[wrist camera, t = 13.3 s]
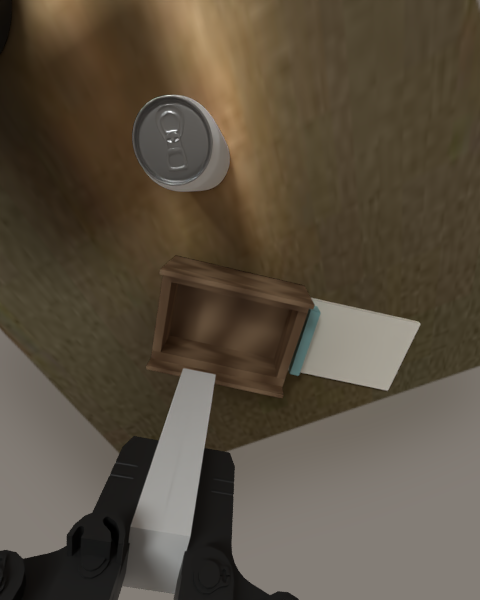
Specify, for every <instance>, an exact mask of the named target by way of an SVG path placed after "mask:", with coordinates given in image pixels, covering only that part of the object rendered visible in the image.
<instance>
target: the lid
mask: <svg viewBox="0 0 480 600" xmlns="http://www.w3.org/2000/svg"><path fill="white" fill-rule="evenodd" d="M311 299H312V301H313V303H314V304H315V306H314V309H309V310H308V313H307V316H306V319H305V322H304V325H303V328H302V331H301V334H300V337H299V340H298V342H297V345H296V348H295V351H294V354H293V357H292V360H291V363H290V366H289V369H288V370H289V373H290V374H292V375H297V376H299V374H300V372H301V373H306V374H310V375H315V376H320V377H325V378H329V379H334V380H339V381H344V382H349V383H353V384H358V385H363V386H368V387H372V388H377V389H382V390H387V391H388V389H389V387H390V385H391V383H392V381H393V379H394V377H395V375H396V373H397V371H398V369H399V367H400V365H401V363H402V361H403V359H404V357H405V355H406V353H407V351H408V349H409V347H410V345H411V343H412V341H413V338H414V336H415V334H416V332H417V330H418V328H419V326H420V323H419V322H418V321H414V320H409V319H405V318H400V317H396V316H391V315H387V314H382V313H378V312H373V311H369V310H364V309H360V308H355V307H351V306H346V305H342V304H337V303H333V302H328V301H324V300H319V299H315V298H311Z"/></svg>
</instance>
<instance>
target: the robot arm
mask: <svg viewBox="0 0 480 600" xmlns="http://www.w3.org/2000/svg"><path fill="white" fill-rule="evenodd" d="M11 13H12V0H0V53H1V51H2V49H3V47H4V45H5V42H6V40H7V37H8V33H9V29H10V23H11ZM215 377H216V375H215V374H210V373H205V372H200V371H195V370H190V369H185V368H183V370H182V373H181V376H180V379H179V382H178V385H177V388H176V391H175V394H174V397H173V400H172V403H171V406H170V409H169V412H168V415H167V418H166V421H165V424H164V427H163V430H162V433H161V436H160V439H159V441H158V440H153V439H147V438H142V437H137V436H134V437H132V438H131V439H130V440H129V441H128V442H127V443H126V444H125V445H124V446H123V447H122V450H121V452H120V454H119V456H118V458H117V461H116V463H115V465H114V467H113V469H112V471H111V474H110V476H109V478H108V480H107V482H106V484H105V487H104V489H103V491H102V493H101V495H100V497H99V500H98V502H97V504H96V506H95V508H94V510H93V513H91V514H88V515H86V516H84V517H83V518H82V519H81V520H79V521H78V522H77V523H76V524H75V525H74V526H73V527H72V529H71V530H70V532H69V533H68V534H67V546H65V547H64V548H62V549H60V550H58V551H55V552H52V553H48V554H43V555H39V556H34V557H30V558H25V559H22V558H21V557H20V556H19V555H18V554H17V553H16V552H12V551H8V550H3V551H0V600H118V597H119V594H120V591H121V587H122V586H126V587H133V588H139V589H146V590H153V591H159V592H166V593H172V594H175V595H174V600H299V599H298V598H296V597H295V596H293V595H291V594H290V593H288V592H276V593H274V594H272V595H269V594H267V593H265V592H264V591H262V590H261V589H259V588H257V587H256V586H254V585H253V584H251V583H250V582H248V581H247V580H246V579H245V578H244V577H243V576H242V575H241V573H240V572H239V571H238V569H237V567H236V565H235V563H234V559H233V556H232V547H231V539H232V517H233V494H234V493H233V492H234V470H235V466H234V463H233V461H232V458H231V455H230V453H228V452H223V451H218V450H212V449H207V448H204V447H205V440H206V434H207V428H208V421H209V415H210V409H211V402H212V396H213V389H214V383H215ZM122 584H123V585H122Z"/></svg>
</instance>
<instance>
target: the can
mask: <svg viewBox="0 0 480 600" xmlns="http://www.w3.org/2000/svg"><path fill="white" fill-rule="evenodd" d="M132 142H133V148H134V152H135V155H136V158H137V160H138V162H139V163H140V165H141V167H142V168H143V169H144V171H145V172H146V174H147V175H148V176H149V177H150V178H151V179H152V180H153V181H154V182H156V183H157V184H159V185H160V186H162V187H164V188H166V189H169V190H173V191H180V192H190V191H204V190H209V189H212V188H214V187H215V186H217V185H218V184H219V183H220V182H221V181H222V180H223V179H224V177H225V176H226V174H227V171H228V168H229V164H230V153H229V149H228V145H227V143H226V141H225V139H224V137H223V135H222V133H221V131H220V129H219V127H218V126H217V124H216V122H215V121H214V119H213V117H212V116H211V115H210V113H209V112H208V111H207V110H206V109H205V108H204V107H203V106H202V105H201V104H199V103H198V102H197V101H195V100H193V99H191V98H189V97H186V96H182V95H163V96H159V97H156V98H154V99H152V100H150V101H149V102H148V103H146V104H145V105H144V106H143V107H142V109H141V110H140V111H139V113H138V115H137V117H136V119H135V122H134V126H133V132H132Z"/></svg>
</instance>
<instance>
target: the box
mask: <svg viewBox="0 0 480 600" xmlns="http://www.w3.org/2000/svg"><path fill="white" fill-rule="evenodd" d="M159 274H162V275H163V277H162V284H161V291H160V298H159V305H158V312H157V319H156V326H155V333H154V340H153V347H152V354H151V359H150V361H149V362H148V364H147V367H146V369H148V370H153V371H157V372H162V373H167V374H171V375H176V376H181V373H182V370H183V368H185V369H190V370H195V371H200V372H205V373H210V374H215V375H216V377H215V383H214V384H218V385H222V386H227V387H232V388H236V389H241V390H246V391H250V392H255V393H259V394H264V395H269V396H273V397H278V398H283V388H282V386H283V383H284V380H285V377H286V375H287V372H288V369H289V366H290V363H291V360H292V357H293V354H294V351H295V348H296V345H297V342H298V340H299V337H300V334H301V331H302V328H303V325H304V322H305V319H306V316H307V313H308V310H309V309H314V306H315V304H314V303H313V301H312V299H311V297H310V295H309V293H308V292H307V290H306V288H305V286H304V285H300V284H295V283H291V282H287V281H283V280H278V279H274V278H270V277H266V276H261V275H257V274H253V273H249V272H244V271H240V270H236V269H232V268H227V267H223V266H219V265H214V264H210V263H206V262H202V261H197V260H193V259H189V258H185V257H180V256H174V257H173V258H172V259H171V260H170V261H169V262H168V263H166V264H165V265H164V266H163V267H162V268H161V269H160V273H159Z"/></svg>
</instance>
